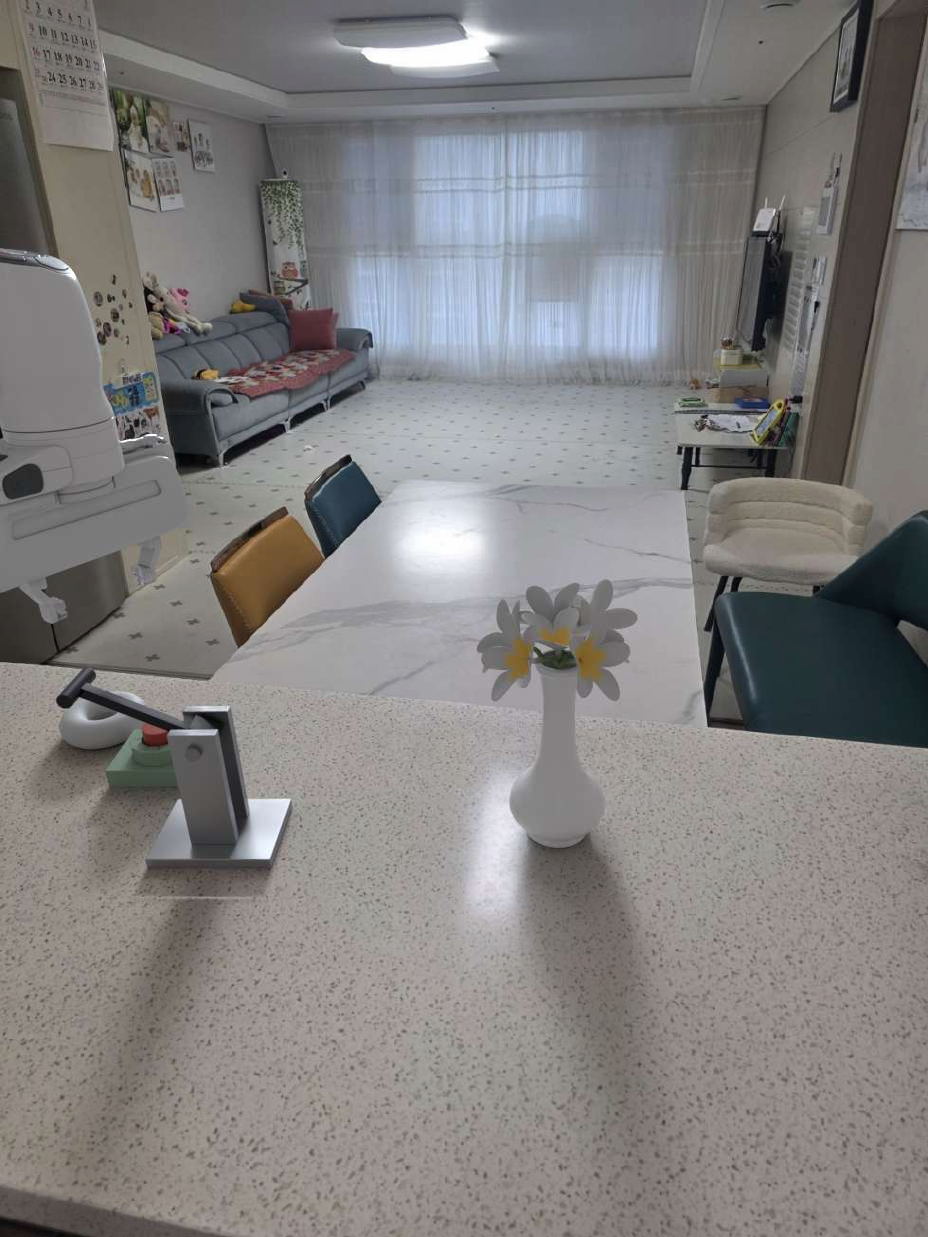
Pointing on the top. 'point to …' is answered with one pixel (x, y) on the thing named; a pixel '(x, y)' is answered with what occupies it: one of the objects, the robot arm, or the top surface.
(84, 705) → the donut
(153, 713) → the lever
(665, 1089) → the top surface
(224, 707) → the bracket
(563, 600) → the flower vase
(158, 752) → the button box
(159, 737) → the button
